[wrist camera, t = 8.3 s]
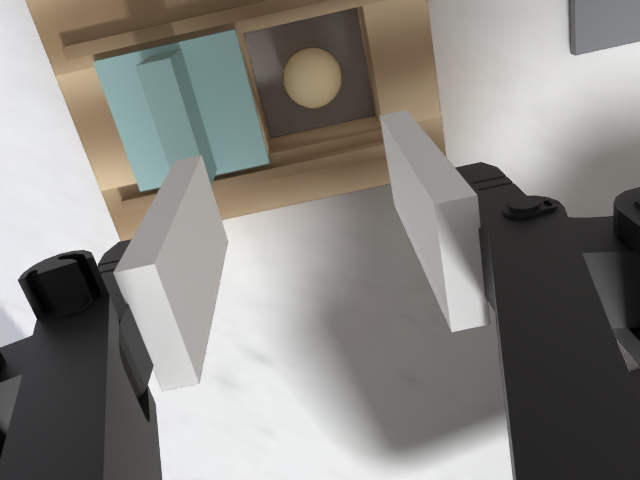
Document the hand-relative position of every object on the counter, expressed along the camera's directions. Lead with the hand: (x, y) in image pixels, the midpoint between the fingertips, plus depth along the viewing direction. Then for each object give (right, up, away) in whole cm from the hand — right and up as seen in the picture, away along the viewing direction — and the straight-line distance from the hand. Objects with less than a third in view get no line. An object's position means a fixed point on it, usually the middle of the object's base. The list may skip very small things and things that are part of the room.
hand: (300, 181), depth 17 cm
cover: (-6, +5, +13) cm, 15 cm away
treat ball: (0, +7, +15) cm, 17 cm away
